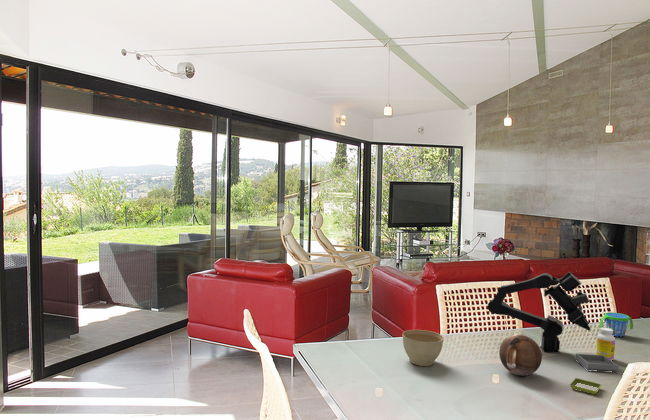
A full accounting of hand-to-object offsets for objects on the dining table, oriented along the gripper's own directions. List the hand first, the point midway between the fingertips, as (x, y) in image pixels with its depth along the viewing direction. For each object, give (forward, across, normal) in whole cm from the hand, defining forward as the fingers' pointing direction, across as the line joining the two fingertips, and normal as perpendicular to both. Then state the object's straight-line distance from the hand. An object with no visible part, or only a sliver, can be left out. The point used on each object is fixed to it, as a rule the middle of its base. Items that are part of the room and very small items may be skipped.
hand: (588, 327), depth 206 cm
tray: (+11, -12, +7) cm, 18 cm away
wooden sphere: (-8, -36, +27) cm, 46 cm away
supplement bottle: (+14, 0, +4) cm, 15 cm away
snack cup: (+20, +42, -1) cm, 47 cm away
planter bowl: (-34, -43, +52) cm, 76 cm away
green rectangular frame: (+8, -39, +12) cm, 42 cm away
